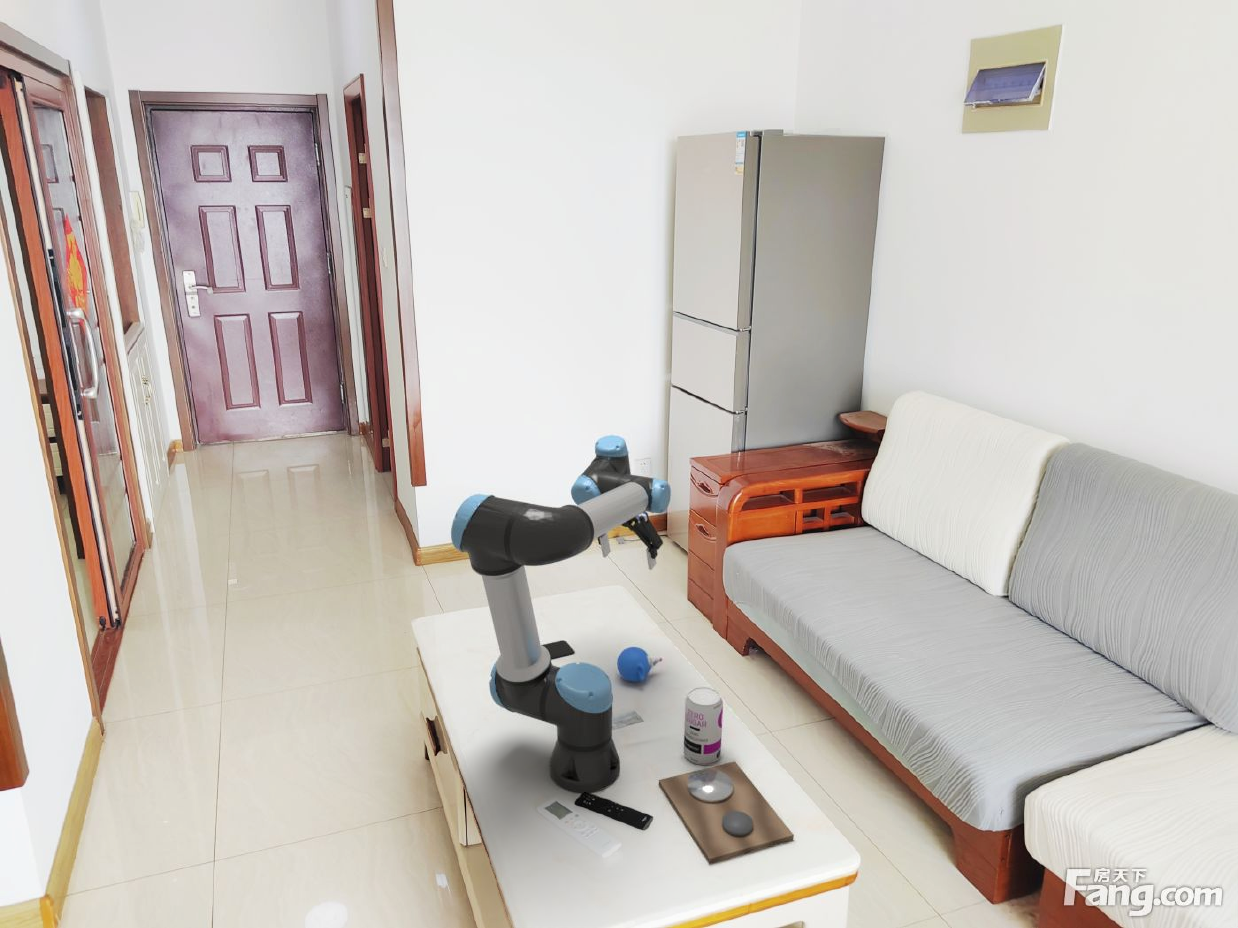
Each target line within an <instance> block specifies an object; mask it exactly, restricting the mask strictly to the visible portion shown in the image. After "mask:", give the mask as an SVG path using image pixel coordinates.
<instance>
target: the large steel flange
mask: <svg viewBox="0 0 1238 928" xmlns="http://www.w3.org/2000/svg"><path fill="white" fill-rule="evenodd" d="M702 769H703V770H701V769H698V770H699V771H697V770H695V771H696V772H694V773H693V774H691V775H690V776H689V778H688V781H687V789H688V792H689V793H690V795H691V796H692V797H694V798H695V799H697V800H699V801H701V802H705V803H720V802H723V801H725V800H727V799H728V798H730V797H731V795H732V793H733V782H732V780H731V778H730V777H729V776H728V775H726V774H725V773H723V772H721V771H718V770H713V769H705V768H702Z"/></svg>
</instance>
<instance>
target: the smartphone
mask: <svg viewBox="0 0 1238 928" xmlns="http://www.w3.org/2000/svg"><path fill="white" fill-rule="evenodd" d="M541 645H542V646H544V647H545V648H546V649H547V650H548V651H549V654H550V658H551V661H553V660H556V659H560V658H565V657H569V656H572V655H575V654H576V652H575V651H576V650H574V649H573V647H572V646H571V645H570V644H569V643H568V642H567V641H566V640H561V639H560V640H557V641H553V642H549V643H545V644H541Z"/></svg>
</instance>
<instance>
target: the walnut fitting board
mask: <svg viewBox="0 0 1238 928" xmlns="http://www.w3.org/2000/svg"><path fill="white" fill-rule="evenodd" d="M703 769H713V770H718V771H721V772H723V773H725V774H726V775H728V776H729V777H730V778H731V780H732V782H733V793H732V795H731V797H730V798H728V799H727V800H725V801H723V802H720V803H705V802H701V801H699V800H697V799H695V798H694V797H692V796H691V795H690V793H689V792H688V789H687V781H688V778H689V776H690V775H691V774H693V773H694V772H696V771H699V770H703ZM658 786H659V788H660V790H661V791H662V793H664V796H666V799H667V800H668V802H669V803H670V805H671V806H672V808H673V810H674V811H675V812H676V815H677V816H678V817H679V819H680V820H681V822H682V824H683V825H684V827H685V829H686V830H687V832H688V833H689V835H690V836H691V837H692V839H693V841H694V842H695V844H696V846H697V847H698V849H699V850H700V852H701V853H702V855H703V856H704V859H705V860H706V861H707V863H708V864H709V865H712V864H715V863H718V862H722V861H725V860H729V859H732V858H735V857H738V856H739V857H740V856H743V855H746V854H750V853H753V852H757V851H760V850H763V849H764V850H765V849H768V848H771V847H774V846H778V845H781V844H784V843H788V842H791V841H794V838H795V837H794V835H795V834H794V833H793V832H792V831H791V829H790V828H789V827H788V826H787V824H785V822H784V821H783V819H782V818H781V816H779V815H778V813H777V812H776V811H775V810H774V808H773V807H772V806H771V804H770V803H769V802H768V801H767V799H765V797H764V795H762V793H761V792H760V790H759V789H758V788H757V787H756V786H755V784H754V783H753V782H752V780H751V779H750V778H749V777H748V776H747V775H746V773H745V772H744V771H743V770H742V768H741V766H739V765H738V763H737V762H736V761H735V760H734V761H730V762H726V763H723V764H722V763H721V764H719V765H714V766H710V767H706V768H702V769H697V770H694V771H690V772H686V773H682V774H677V775H674V776H670V777H665V778H661V779H658ZM732 811H740V812H743V813H746V814H747V815H749V816H750V817H751V818H752V820H753V830H752V832H751V833H750V834H749V835H747V836H743V837H736V836H732V835H730V834H728V833H726V832H725V831H724V829H723V827H722V818H723V816H724V815H725V814H727V813H728V812H732Z"/></svg>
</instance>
